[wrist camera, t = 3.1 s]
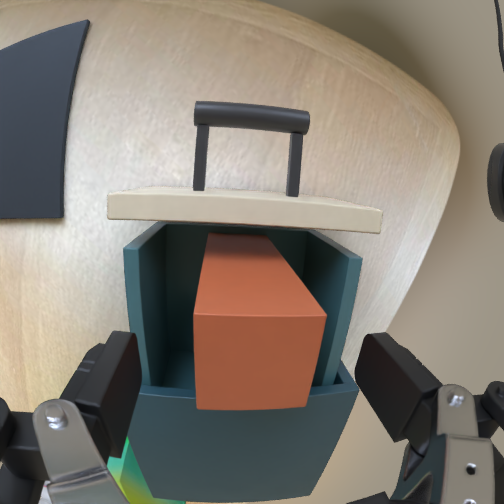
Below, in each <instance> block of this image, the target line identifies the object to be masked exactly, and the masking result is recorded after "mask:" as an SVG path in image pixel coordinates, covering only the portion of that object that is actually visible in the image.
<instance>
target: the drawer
mask: <svg viewBox="0 0 504 504" xmlns="http://www.w3.org/2000/svg"><path fill="white" fill-rule="evenodd" d="M309 124H310V115H309V112H308V111H303V110H296V109H289V108H282V107H274V106H265V105H256V104H245V103H231V102H213V101H196V103H195V109H194V126H197V137H196V150H195V163H194V179H193V187H171V186H149V187H142V188H136V189H129V190H123V191H117V192H111V193H108V195H107V218H108V219H109V220H148V221H178V222H157V223H156V224H154V225H153V226H151V227H150V228H149V229H147V230H146V231H145V232H143V233H142V234H141V235H140V236H138V237H137V238H136V239H134V240H133V241H132V242H130V243H129V244H128V245H127V246H125V247H124V248H123V255H124V273H125V287H126V298H127V308H128V317H129V326H130V332H132V333H135V334H136V336H137V341H138V348H139V355H140V362H141V368H142V384H141V385H148V386H157V387H168V388H181V389H196V386H195V364H194V329H193V313H194V307H195V302H196V296H197V290H198V285H199V279H200V274H201V269H202V264H203V259H204V253H205V248H206V243H207V239H208V234H209V233H228V234H248V235H266V236H267V237H268V238H269V240H270V241H271V242H272V243H273V245H274V246H275V247H276V249H277V250H278V251H279V252H280V254H281V255H282V256H283V258H284V259H285V260H286V262H287V263H288V264H289V265H290V267H291V268H292V269H293V271H294V272H295V273H296V275H297V276H298V277H299V279H300V280H301V281H302V282H303V284H304V285H305V286H306V288H307V289H308V290H309V292H310V293H311V294H312V296H313V297H314V298H315V300H316V301H317V302H318V304H319V305H320V306H321V308H322V309H323V310H324V312H325V313H326V314H327V318H326V323H325V328H324V333H323V337H322V342H321V347H320V351H319V356H318V360H317V364H316V368H315V372H314V377H313V381H312V385H311V387H318V386H327V385H333V383H334V380H335V377H336V373H337V370H338V366H339V363H340V359H341V356H342V352H343V348H344V344H345V340H346V336H347V332H348V328H349V324H350V320H351V315H352V311H353V306H354V302H355V297H356V292H357V287H358V282H359V277H360V271H361V266H362V260H363V258H361V257H360V256H358V255H356V254H355V253H353V252H351V251H350V250H348V249H347V248H345V247H343V246H342V245H340V244H338V243H337V242H335V241H333V240H332V239H330V238H328V237H326V236H325V235H323V234H321V233H320V232H318V231H316V230H314V229H324V230H337V231H350V232H362V233H374V234H379V233H380V231H381V224H382V216H383V211H382V210H380V209H376V208H372V207H368V206H364V205H359V204H355V203H351V202H347V201H342V200H338V199H333V198H329V197H323V196H314V195H304V194H299V184H300V171H301V159H302V145H303V135H306V134H307V132H308V129H309ZM209 127H229V128H243V129H255V130H265V131H275V132H283V133H291V135H290V147H289V161H288V174H287V186H286V193H282V192H270V191H256V190H241V189H224V188H205V179H206V164H207V150H208V138H209ZM185 222H203V223H185ZM209 223H225V224H209ZM230 224H244V225H230ZM249 225H262V226H249ZM267 226H279V227H267ZM283 227H295V228H283ZM299 228H310V229H299Z"/></svg>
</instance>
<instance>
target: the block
mask: <svg viewBox="0 0 504 504" xmlns="http://www.w3.org/2000/svg"><path fill="white" fill-rule="evenodd" d="M326 318H327V314H326V313H325V312H324V310H323V309H322V308H321V306H320V305H319V304H318V302H317V301H316V300H315V298H314V297H313V296H312V294H311V293H310V292H309V290H308V289H307V288H306V286H305V285H304V284H303V282H302V281H301V280H300V279H299V277H298V276H297V275H296V273H295V272H294V271H293V269H292V268H291V267H290V265H289V264H288V263H287V262H286V260H285V259H284V258H283V256H282V255H281V254H280V252H279V251H278V250H277V249H276V247H275V246H274V245H273V243H272V242H271V241H270V240H269V238H268V237H267V236H266V235H248V234H228V233H209V234H208V239H207V243H206V248H205V253H204V259H203V264H202V269H201V274H200V279H199V285H198V290H197V296H196V302H195V307H194V313H193V329H194V364H195V386H196V404H197V409H200V410H266V409H284V408H297V407H305V406H306V404H307V400H308V396H309V392H310V388H311V385H312V381H313V377H314V372H315V368H316V364H317V360H318V356H319V351H320V347H321V342H322V337H323V333H324V328H325V323H326Z"/></svg>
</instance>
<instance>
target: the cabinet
mask: <svg viewBox="0 0 504 504" xmlns="http://www.w3.org/2000/svg"><path fill="white" fill-rule="evenodd" d="M358 392H359V388H358V386H357V384H356V383H355V382H354V380H353V378H352V377H351V375H350V374H349V372H348V370H347V369H346V367H345V366H344V364H343V363H342V361H341V359H340V363H339V366H338V370H337V373H336V377H335V380H334V383H333V385H327V386H318V387H311V388H310V392H309V396H308V400H307V404H306V406H305V407H297V408H284V409H266V410H200V409H197V404H196V389H181V388H168V387H157V386H148V385H141V388H140V392H139V395H138V398H137V402H136V405H135V409H134V412H133V416H132V419H131V423H130V427H129V430H128V434H127V437H128V440H129V443H130V445H131V448H132V451H133V453H134V456H135V458H136V461H137V463H138V465H139V468H140V470H141V472H142V475H143V477H144V479H145V481H146V484H147V486H148V488H149V490H150V492H151V494H152V496H153V498H159V499H168V500H177V501H190V502H211V503H236V502H256V501H257V502H258V501H269V500H280V499H288V498H296V497H302V496H308V495H310V494H311V493H312V491H313V489H314V487H315V485H316V484H317V482H318V480H319V478H320V476H321V474H322V473H323V471H324V469H325V467H326V465H327V463H328V461H329V459H330V457H331V455H332V453H333V451H334V449H335V447H336V445H337V442H338V440H339V438H340V436H341V434H342V431H343V429H344V427H345V425H346V422H347V419H348V418H349V415H350V413H351V410H352V408H353V405H354V403H355V400H356V397H357V395H358Z"/></svg>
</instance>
